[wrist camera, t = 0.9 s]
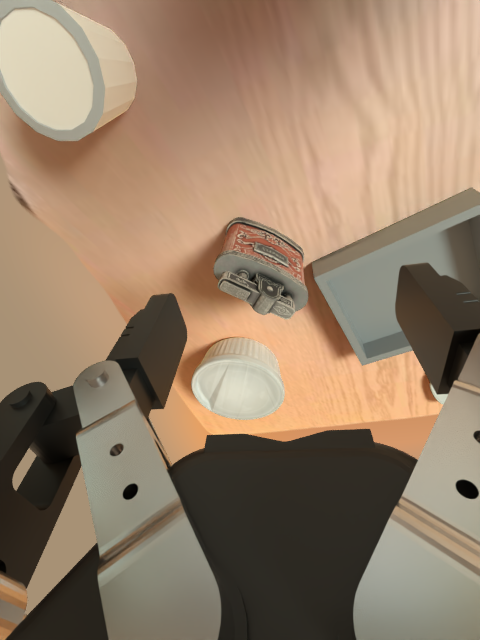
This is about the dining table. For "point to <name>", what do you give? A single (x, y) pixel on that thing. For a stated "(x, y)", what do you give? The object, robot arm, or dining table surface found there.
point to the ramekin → (239, 380)
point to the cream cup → (62, 69)
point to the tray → (383, 271)
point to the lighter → (262, 268)
